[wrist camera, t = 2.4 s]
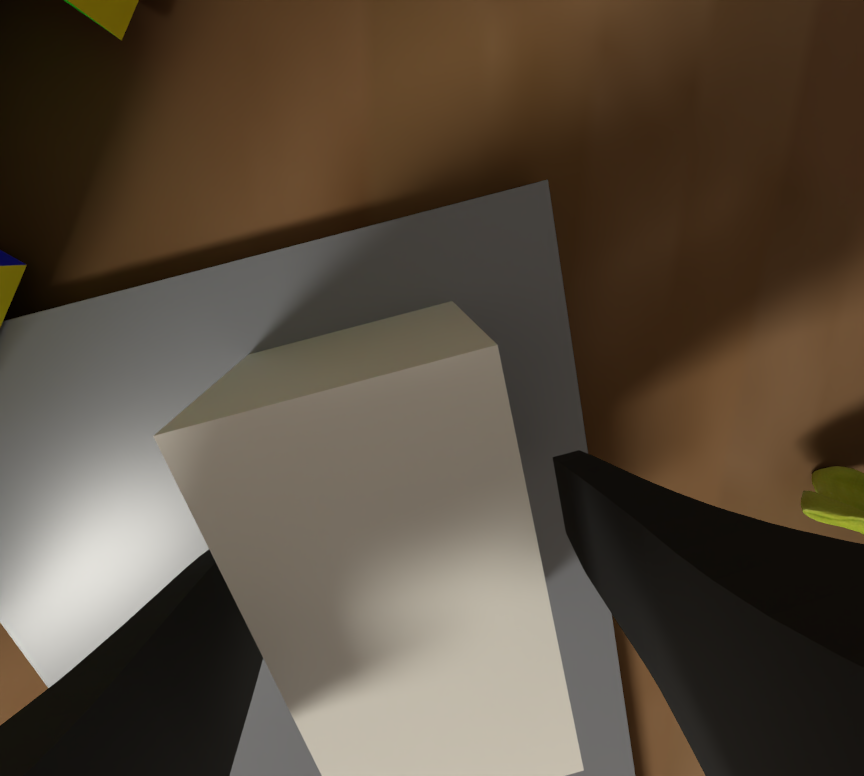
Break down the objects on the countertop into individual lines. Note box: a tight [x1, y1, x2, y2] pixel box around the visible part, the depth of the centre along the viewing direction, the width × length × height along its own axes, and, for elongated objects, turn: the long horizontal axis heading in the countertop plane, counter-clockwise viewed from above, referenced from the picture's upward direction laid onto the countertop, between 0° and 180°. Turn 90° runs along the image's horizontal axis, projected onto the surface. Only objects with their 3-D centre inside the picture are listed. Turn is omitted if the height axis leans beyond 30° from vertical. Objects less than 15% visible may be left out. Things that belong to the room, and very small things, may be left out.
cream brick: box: [153, 301, 584, 776], centre depth 10 cm, size 5×9×4 cm, turn 14°
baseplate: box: [0, 180, 635, 776], centre depth 15 cm, size 16×30×1 cm, turn 14°
